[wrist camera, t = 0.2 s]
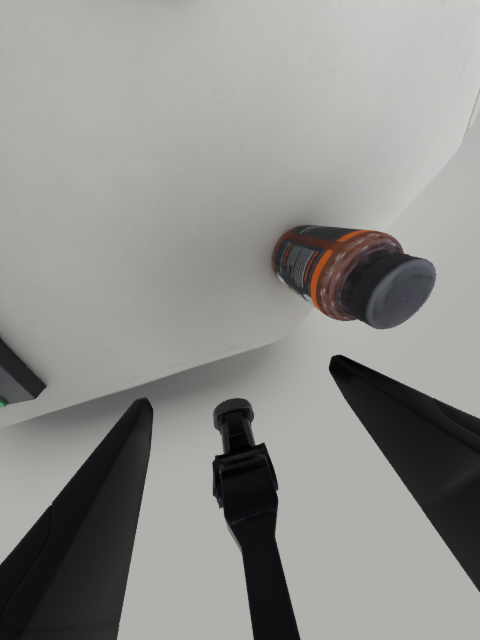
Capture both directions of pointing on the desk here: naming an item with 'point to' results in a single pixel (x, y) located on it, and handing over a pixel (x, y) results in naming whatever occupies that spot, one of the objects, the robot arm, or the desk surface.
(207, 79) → the desk surface
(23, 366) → the scale
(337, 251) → the supplement bottle
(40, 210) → the desk surface
